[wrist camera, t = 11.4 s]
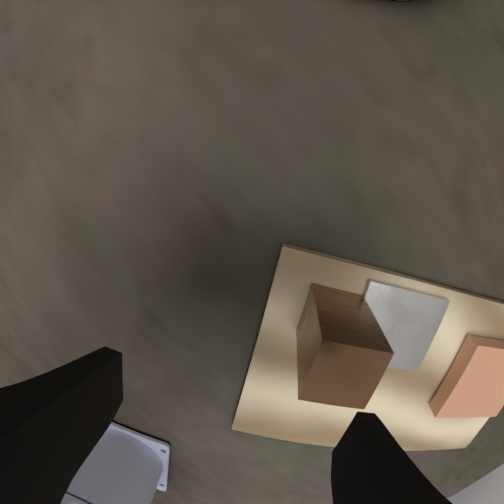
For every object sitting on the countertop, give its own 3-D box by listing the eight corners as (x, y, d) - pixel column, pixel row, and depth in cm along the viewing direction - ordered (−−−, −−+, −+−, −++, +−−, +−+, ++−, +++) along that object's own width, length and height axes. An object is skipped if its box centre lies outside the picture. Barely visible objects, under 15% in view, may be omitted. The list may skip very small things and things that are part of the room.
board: (463, 442, 20) (465, 447, 19) (232, 421, 21) (231, 429, 20) (540, 312, 16) (545, 316, 15) (282, 242, 17) (282, 246, 16)
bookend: (414, 366, 17) (447, 428, 11) (291, 344, 18) (290, 415, 12) (446, 298, 16) (497, 347, 10) (316, 265, 16) (331, 316, 10)
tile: (427, 402, 18) (487, 404, 17) (435, 417, 16) (495, 416, 16) (466, 332, 16) (523, 342, 16) (478, 345, 15) (534, 353, 14)
